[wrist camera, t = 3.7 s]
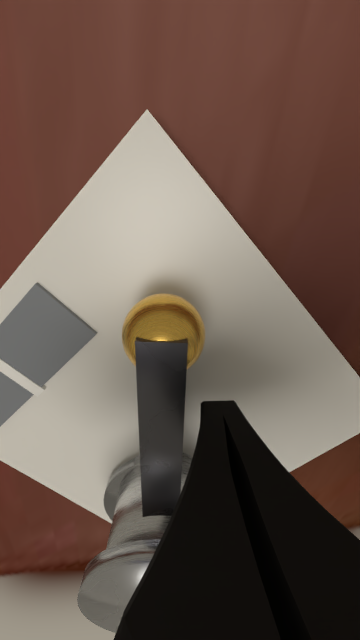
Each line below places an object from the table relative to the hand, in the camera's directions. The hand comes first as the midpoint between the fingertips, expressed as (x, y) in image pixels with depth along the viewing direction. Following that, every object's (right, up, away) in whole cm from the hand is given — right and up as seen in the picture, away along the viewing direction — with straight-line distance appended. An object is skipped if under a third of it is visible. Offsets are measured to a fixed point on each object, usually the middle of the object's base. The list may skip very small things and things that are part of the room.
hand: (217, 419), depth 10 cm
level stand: (-3, 0, +4) cm, 5 cm away
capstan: (-2, -2, +3) cm, 4 cm away
